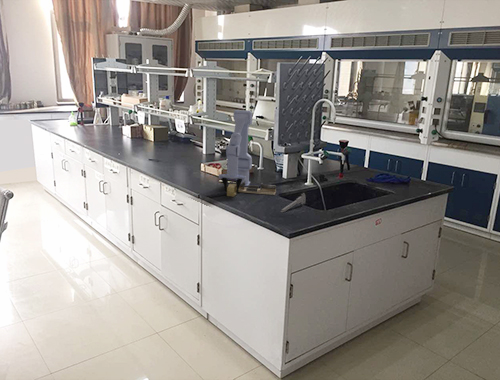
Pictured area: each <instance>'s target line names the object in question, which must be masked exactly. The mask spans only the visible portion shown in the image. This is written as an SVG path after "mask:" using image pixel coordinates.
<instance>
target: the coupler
mask: <svg viewBox="0 0 500 380" xmlns="http://www.w3.org/2000/svg"><path fill="white" fill-rule="evenodd" d="M236 189H237V184H230V183H229V184H228V187H227V192H226V196H227V197H235V196H236V195H237V193H236Z"/></svg>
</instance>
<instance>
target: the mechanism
mask: <svg viewBox="0 0 500 380" xmlns="http://www.w3.org/2000/svg"><path fill="white" fill-rule="evenodd" d="M229 184H237V183H236V182H235V181H230V182H229ZM259 185H260V188H259ZM259 185H253V184H252V185H250V184H249V185H248V186H247V187H246V186H245V182H244V181H243V183H241V184H240V186H239V190H238V193H247V194H258V195H273V196H276V192H277V185H275V184H264V183H263V182H260V184H259Z"/></svg>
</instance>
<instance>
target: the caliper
mask: <svg viewBox="0 0 500 380" xmlns="http://www.w3.org/2000/svg"><path fill="white" fill-rule="evenodd" d="M299 204H300V205H302V206H303V205H305V204H306V194H305V192H302V193H301V194H300V196H298V197H297V198H296V199H295V200H294V201H292V202H291V203H289V204H287V205H286V206H285V207H283V208H281V211H280V213H284V212H287V211H288V210H290V209H291V208H292V207H294V206H295V205H299Z"/></svg>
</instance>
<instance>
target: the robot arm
mask: <svg viewBox="0 0 500 380" xmlns="http://www.w3.org/2000/svg"><path fill="white" fill-rule="evenodd" d="M232 115H233V121H234V123H235V124H234V130H233V131H234V132H233V133H232V134H231V136H230V140H229V144H228V145H227V146H226V148H225V149H226V150H225V155H226V159H227V164H226V165H227V166H226V167H227V168H226V173H225V174H224V173H219V174H218V179H221V182H222V184H223V186H224V188H225V189H224V191H225V193H227V187H228V185H229V184H228V183H229V180H236V183H237V189H236V194H238V193H239V192H238V190H239V186H240V184H241V183H243V181H244V182H245V187H248V185H250V184H251V181H250V170H252V168H253V158H252V155H250V154H249V153H248V147H249V128H250V126H251V125H252V124H253V112H252V110H245V109H244V110H243V109H242V110H240V109H235V110H234V111H233V114H232Z"/></svg>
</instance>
